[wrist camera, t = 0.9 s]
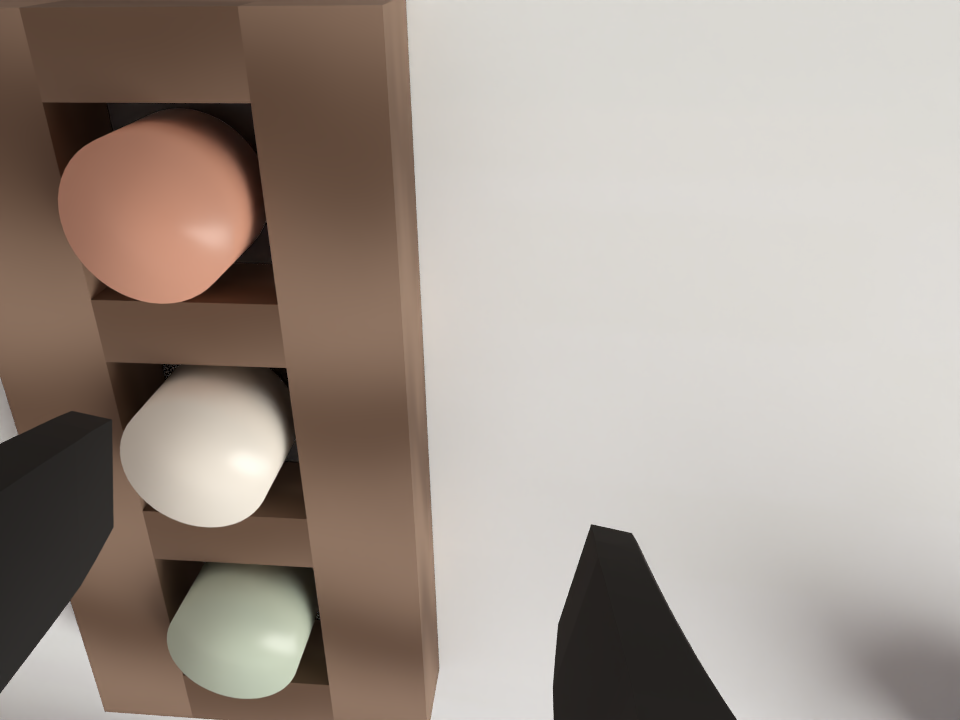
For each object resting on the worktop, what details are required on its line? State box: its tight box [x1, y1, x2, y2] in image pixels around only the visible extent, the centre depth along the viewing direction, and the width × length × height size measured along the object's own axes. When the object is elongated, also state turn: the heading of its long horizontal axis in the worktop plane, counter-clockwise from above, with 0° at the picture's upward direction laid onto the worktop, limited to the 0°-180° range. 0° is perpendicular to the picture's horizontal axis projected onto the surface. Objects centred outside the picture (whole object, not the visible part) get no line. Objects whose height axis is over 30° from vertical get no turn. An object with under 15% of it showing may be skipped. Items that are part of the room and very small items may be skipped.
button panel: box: [0, 0, 439, 720], centre depth 22 cm, size 20×10×2 cm, turn 1°
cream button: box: [120, 364, 296, 527], centre depth 21 cm, size 4×4×2 cm
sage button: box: [167, 562, 319, 699], centre depth 24 cm, size 4×4×2 cm
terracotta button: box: [58, 108, 266, 304], centre depth 18 cm, size 4×4×2 cm
